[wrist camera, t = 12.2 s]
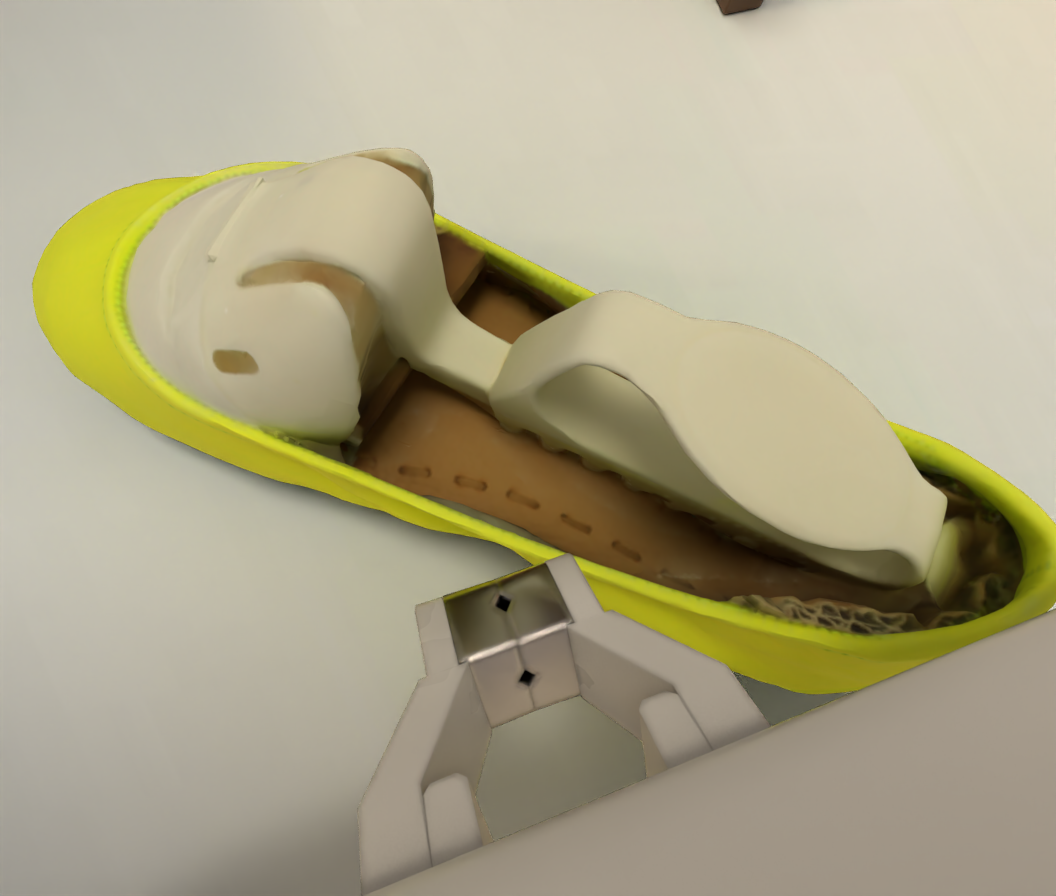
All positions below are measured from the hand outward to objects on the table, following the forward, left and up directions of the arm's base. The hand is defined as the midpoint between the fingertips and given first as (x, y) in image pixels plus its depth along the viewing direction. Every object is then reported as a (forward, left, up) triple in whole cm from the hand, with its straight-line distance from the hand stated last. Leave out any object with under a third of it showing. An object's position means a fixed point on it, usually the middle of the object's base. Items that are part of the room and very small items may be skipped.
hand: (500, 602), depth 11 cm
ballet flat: (+1, +5, -5) cm, 7 cm away
